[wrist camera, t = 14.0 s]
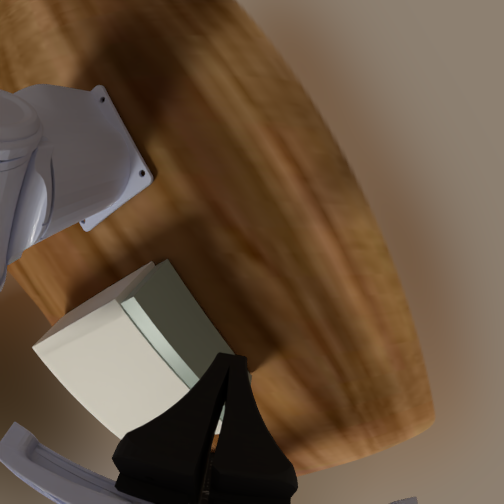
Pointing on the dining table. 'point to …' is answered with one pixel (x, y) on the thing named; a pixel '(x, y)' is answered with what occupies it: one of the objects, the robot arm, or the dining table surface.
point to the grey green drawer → (175, 323)
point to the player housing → (112, 361)
